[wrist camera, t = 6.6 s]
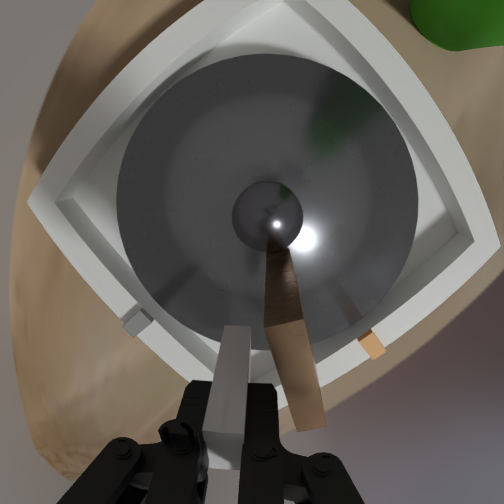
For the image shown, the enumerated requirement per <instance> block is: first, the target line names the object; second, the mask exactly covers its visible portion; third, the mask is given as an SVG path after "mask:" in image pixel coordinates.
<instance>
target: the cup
mask: <svg viewBox="0 0 504 504" xmlns="http://www.w3.org/2000/svg"><path fill="white" fill-rule="evenodd" d="M410 13H411V16H412V19H413V21H414V23H415V25H416V26H417V28H418V29H419V30H420V32H421V33H422V34H423V35H424V36H425V37H426V38H427V39H428V40H429V41H431V42H432V43H433V44H435V45H437V46H438V47H440V48H443V49H445V50H449V51H462V50H468V49H475V48H483V47H492V46H502V45H504V0H411V1H410Z"/></svg>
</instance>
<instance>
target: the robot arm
mask: <svg viewBox="0 0 504 504" xmlns="http://www.w3.org/2000/svg"><path fill="white" fill-rule="evenodd" d="M250 369H251V326H231V325H225V326H224V331H223V335H222V340H221V344H220V349H219V353H218V358H217V363H216V367H215V372H214V376H213V381H202V380H192V381H191V382H190V383H189V384H188V385H187V386H186V388H185V391H184V394H183V398H182V401H181V405H180V407H179V411H178V414H177V417H176V419H173V420H170V421H167V422H165V423H164V424H162V425H161V427H160V428H159V430H158V432H159V434H160V437H161V440H162V441H161V442H159V443H154V444H140V445H138V443H137V442H136V441H134V440H133V439H130V438H127V437H119V438H116V439H113V440H112V441H110V442H109V443H108V444H107V445H106V446H105V448H104V449H103V450H102V451H101V452H100V454H99V455H98V456H97V457H96V458H95V459H94V461H93V462H92V463H91V464H90V465H89V466H88V468H87V469H86V470H85V471H84V472H83V473H82V475H81V476H80V477H79V478H78V479H77V480H76V482H75V483H74V484H73V485H72V486H71V487H70V489H69V490H68V491H67V492H66V493H65V494H64V496H63V497H62V498H61V499H60V500H59V501H58V503H57V504H204V502H205V496H206V490H207V484H208V474H207V471H208V465H209V467H210V468H217V469H229V470H240V481H239V494H238V504H284V499H286V500H290V501H294V502H295V504H365V503H364V502H363V500H362V498H361V496H360V494H359V493H358V491H357V489H356V487H355V485H354V484H353V482H352V480H351V478H350V476H349V475H348V473H347V471H346V469H345V467H344V465H343V464H342V462H341V461H340V459H339V458H338V457H337V456H334V455H333V454H331V453H325V452H322V453H316V454H313V455H311V456H309V457H306V456H301V455H297V454H293V453H291V452H289V451H287V450H286V449H285V448H284V447H283V446H282V444H281V443H280V439H279V419H278V397H277V391H276V389H275V387H274V386H273V384H272V383H250Z"/></svg>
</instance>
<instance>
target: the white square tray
mask: <svg viewBox="0 0 504 504" xmlns="http://www.w3.org/2000/svg"><path fill="white" fill-rule="evenodd" d="M252 54H282V55H290V56H295V57H300V58H305V59H309V60H312V61H315V62H318V63H320V64H323V65H326V66H328V67H331V68H332V69H334V70H336V71H338V72H340V73H342V74H344V75H345V76H347V77H349V78H350V79H352V80H353V81H355V82H356V83H357V84H359V85H360V86H361V87H363V88H364V89H365V90H367V91H368V92H369V93H370V94H371V95H372V96H373V97H374V98H375V99H376V100H377V101H378V102H379V103H380V104H381V105H382V107H383V108H384V109H385V110H386V112H387V113H388V114H389V116H390V117H391V118H392V120H393V121H394V122H395V124H396V126H397V128H398V129H399V131H400V133H401V135H402V137H403V138H404V140H405V143H406V145H407V148H408V150H409V153H410V155H411V158H412V161H413V166H414V170H415V174H416V178H417V187H418V198H419V201H418V220H417V226H416V232H415V237H414V241H413V244H412V247H411V250H410V253H409V256H408V258H407V261H406V263H405V265H404V267H403V269H402V271H401V273H400V275H399V277H398V278H397V280H396V281H395V283H394V284H393V286H392V288H391V289H390V290H389V291H388V293H387V294H386V295H385V296H384V298H383V299H382V300H381V301H380V302H379V303H378V304H377V305H376V306H375V307H374V308H373V309H372V310H371V311H370V312H369V313H368V314H367V315H366V316H364V317H363V318H362V319H360V320H359V321H358V322H356V323H355V324H354V325H352V326H351V327H349V328H347V329H345V330H344V331H342V332H340V333H338V334H337V335H334V336H332V337H330V338H327V339H325V340H323V341H320V342H317V343H314V344H312V348H313V353H314V359H315V364H316V369H317V375H318V380H319V386H320V388H321V387H322V386H324V385H326V384H328V383H329V382H331V381H333V380H335V379H336V378H338V377H340V376H341V375H343V374H345V373H346V372H348V371H350V370H351V369H353V368H354V367H356V366H357V365H359V364H361V363H362V362H364V361H365V360H367V359H368V358H370V357H371V358H372V359H373V360H374V359H376V358H377V357H379V356H380V355H382V354H383V353H385V352H386V349H385V347H386V346H387V345H389V344H390V343H392V342H393V341H394V340H396V339H397V338H399V337H400V336H401V335H403V334H404V333H405V332H407V331H408V330H409V329H411V328H412V327H413V326H414V325H416V324H417V323H418V322H420V321H421V320H422V319H423V318H425V317H426V316H427V315H428V314H430V313H431V312H432V311H433V310H434V309H436V308H437V307H438V306H439V305H440V304H441V303H443V302H444V301H445V300H446V299H447V298H448V297H450V296H451V295H452V294H453V293H454V292H455V291H456V290H457V289H458V288H460V287H461V286H462V285H463V284H464V283H465V282H466V281H467V280H468V279H469V278H470V277H471V276H472V275H473V274H474V273H475V272H476V271H477V270H478V269H479V268H480V267H481V266H482V265H483V264H484V263H485V262H486V261H487V260H488V259H489V258H490V257H491V256H492V255H493V254H494V253H495V252H496V251H497V250H498V249H499V248H500V242H499V239H498V236H497V233H496V229H495V226H494V223H493V220H492V218H491V215H490V212H489V209H488V207H487V204H486V201H485V199H484V196H483V194H482V191H481V189H480V187H479V184H478V182H477V180H476V177H475V175H474V173H473V171H472V169H471V166H470V164H469V162H468V160H467V158H466V156H465V154H464V152H463V150H462V148H461V146H460V145H459V143H458V141H457V139H456V137H455V135H454V133H453V132H452V130H451V128H450V126H449V125H448V123H447V121H446V120H445V118H444V116H443V115H442V113H441V111H440V110H439V108H438V107H437V105H436V104H435V102H434V101H433V99H432V98H431V96H430V95H429V93H428V92H427V90H426V89H425V87H424V86H423V84H422V83H421V82H420V80H419V79H418V78H417V76H416V75H415V74H414V72H413V71H412V70H411V68H410V67H409V66H408V64H407V63H406V62H405V61H404V59H403V58H402V57H401V56H400V54H399V53H398V52H397V51H396V50H395V48H394V47H393V46H392V45H391V44H390V43H389V42H388V40H387V39H386V38H385V37H384V36H383V35H382V34H381V33H380V32H379V31H378V29H377V28H376V27H375V26H374V25H373V24H372V23H371V22H370V21H369V20H368V19H367V18H366V17H365V16H364V15H363V14H362V13H361V12H360V11H359V10H358V9H357V8H356V7H355V6H353V5H352V4H351V3H350V2H349V1H348V0H204V1H202V2H201V3H200V4H198V5H197V6H195V7H194V8H193V9H191V10H190V11H189V12H187V13H186V14H185V15H183V16H182V17H181V18H179V19H178V20H177V21H176V22H174V23H173V24H172V25H171V26H169V27H168V28H167V29H166V30H165V31H163V32H162V33H161V34H160V35H159V36H158V37H156V38H155V39H154V40H153V41H152V42H151V43H150V44H148V45H147V46H146V47H145V48H144V49H143V50H142V51H141V52H140V53H139V54H138V55H137V56H136V57H135V58H134V59H133V60H132V61H131V62H130V63H129V64H128V65H127V66H126V67H125V68H124V69H123V70H122V71H121V72H120V73H119V74H118V75H117V76H116V77H115V78H114V79H113V80H112V81H111V82H110V84H109V85H108V86H107V87H106V88H105V89H104V90H103V91H102V93H101V94H100V95H99V96H98V97H97V98H96V100H95V101H94V102H93V103H92V104H91V106H90V107H89V108H88V109H87V111H86V112H85V113H84V114H83V116H82V117H81V118H80V120H79V121H78V122H77V123H76V125H75V126H74V128H73V129H72V130H71V132H70V133H69V134H68V136H67V137H66V139H65V140H64V141H63V143H62V144H61V146H60V147H59V149H58V150H57V152H56V153H55V155H54V156H53V158H52V160H51V161H50V163H49V164H48V166H47V168H46V169H45V171H44V172H43V174H42V176H41V178H40V179H39V181H38V183H37V184H36V186H35V188H34V190H33V192H32V193H31V195H30V197H29V199H28V201H27V203H28V205H29V206H30V208H31V209H32V211H33V212H34V214H35V215H36V217H37V218H38V220H39V221H40V223H41V224H42V225H43V227H44V228H45V230H46V231H47V232H48V234H49V235H50V237H51V238H52V239H53V241H54V242H55V243H56V245H57V246H58V247H59V249H60V250H61V251H62V252H63V254H64V255H65V256H66V258H67V259H68V260H69V261H70V263H71V264H72V265H73V266H74V268H75V269H76V270H77V271H78V272H79V274H80V275H81V276H82V277H83V278H84V279H85V281H86V282H87V283H88V284H89V285H90V286H91V288H92V289H93V290H94V291H95V292H96V293H97V294H98V295H99V297H100V298H101V299H102V300H103V301H104V302H105V303H106V304H107V305H108V306H109V307H110V309H111V310H112V311H113V312H114V313H115V314H116V315H117V316H118V317H119V318H120V319H121V320H122V321H123V322H124V323H125V324H124V325H123V326H122V327H123V328H124V329H125V330H126V331H127V332H128V333H129V334H130V335H131V336H132V337H133V338H134V337H135V336H138V337H139V338H140V339H141V340H142V341H143V342H144V343H145V344H146V345H147V346H149V347H150V348H151V349H152V350H153V351H154V352H155V353H156V354H157V355H158V356H159V357H161V358H162V359H163V360H164V361H165V362H166V363H167V364H168V365H170V366H171V367H172V368H173V369H174V370H175V371H177V372H178V373H179V374H180V375H181V376H182V377H184V378H185V379H186V380H187V381H188V382H191V381H192V380H202V381H213V376H214V372H215V367H216V363H217V358H218V353H219V349H220V344H221V343H220V342H216V341H213V340H211V339H209V338H207V337H204V336H202V335H200V334H198V333H196V332H194V331H193V330H191V329H189V328H187V327H186V326H184V325H182V324H181V323H180V322H178V321H177V320H176V319H174V318H173V317H172V316H171V315H169V314H168V313H167V312H166V311H165V310H164V309H163V308H162V307H161V306H160V305H159V304H158V303H157V302H156V301H155V300H154V299H153V298H152V297H151V295H150V294H149V293H148V292H147V290H146V289H145V288H144V287H143V285H142V284H141V282H140V280H139V279H138V277H137V275H136V274H135V272H134V271H133V268H132V266H131V264H130V262H129V260H128V258H127V255H126V253H125V250H124V246H123V243H122V240H121V237H120V232H119V226H118V220H117V207H116V194H117V183H118V176H119V171H120V167H121V163H122V159H123V156H124V153H125V151H126V148H127V145H128V143H129V140H130V138H131V137H132V135H133V133H134V131H135V129H136V127H137V126H138V124H139V122H140V121H141V119H142V118H143V117H144V115H145V114H146V113H147V111H148V110H149V109H150V107H151V106H152V105H153V104H154V103H155V102H156V101H157V100H158V99H159V98H160V97H161V96H162V95H163V94H164V93H165V92H166V91H167V90H168V89H170V88H171V87H172V86H174V85H175V84H176V83H177V82H179V81H180V80H182V79H183V78H185V77H186V76H188V75H190V74H192V73H193V72H195V71H197V70H199V69H201V68H203V67H205V66H208V65H210V64H213V63H216V62H218V61H221V60H225V59H229V58H233V57H238V56H242V55H252ZM250 383H272V384H273V386H274V387H275V389H276V391H277V397H278V410H279V409H281V408H283V407H285V406H287V405H288V402H287V399H286V396H285V393H284V390H283V387H282V384H281V381H280V378H279V375H278V372H277V369H276V365H275V362H274V359H273V356H272V353H271V350H268V351H265V350H251V369H250Z"/></svg>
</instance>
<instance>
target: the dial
mask: <svg viewBox="0 0 504 504" xmlns="http://www.w3.org/2000/svg"><path fill="white" fill-rule="evenodd" d="M418 201H419V198H418V187H417V178H416V174H415V170H414V166H413V161H412V158H411V155H410V153H409V150H408V148H407V145H406V143H405V140H404V138H403V137H402V135H401V133H400V131H399V129H398V128H397V126H396V124H395V122H394V121H393V120H392V118H391V117H390V116H389V114H388V113H387V112H386V110H385V109H384V108H383V107H382V105H381V104H380V103H379V102H378V101H377V100H376V99H375V98H374V97H373V96H372V95H371V94H370V93H369V92H368V91H367V90H365V89H364V88H363V87H361V86H360V85H359V84H357V83H356V82H355V81H353V80H352V79H350V78H349V77H347V76H345V75H344V74H342V73H340V72H338V71H336V70H334V69H332V68H331V67H328V66H326V65H323V64H320V63H318V62H315V61H312V60H309V59H305V58H300V57H295V56H290V55H282V54H252V55H242V56H238V57H233V58H229V59H225V60H221V61H218V62H216V63H213V64H210V65H208V66H205V67H203V68H201V69H199V70H197V71H195V72H193V73H192V74H190V75H188V76H186V77H185V78H183V79H182V80H180V81H179V82H177V83H176V84H175V85H174V86H172V87H171V88H170V89H168V90H167V91H166V92H165V93H164V94H163V95H162V96H161V97H160V98H159V99H158V100H157V101H156V102H155V103H154V104H153V105H152V106H151V107H150V109H149V110H148V111H147V113H146V114H145V115H144V117H143V118H142V119H141V121H140V122H139V124H138V126H137V127H136V129H135V131H134V133H133V135H132V137H131V138H130V140H129V143H128V145H127V148H126V151H125V153H124V156H123V159H122V163H121V167H120V171H119V176H118V183H117V194H116V207H117V220H118V226H119V232H120V237H121V240H122V243H123V246H124V250H125V253H126V255H127V258H128V260H129V262H130V264H131V266H132V268H133V271H134V272H135V274H136V275H137V277H138V279H139V280H140V282H141V284H142V285H143V287H144V288H145V289H146V290H147V292H148V293H149V294H150V295H151V297H152V298H153V299H154V300H155V301H156V302H157V303H158V304H159V305H160V306H161V307H162V308H163V309H164V310H165V311H166V312H167V313H168V314H169V315H171V316H172V317H173V318H174V319H176V320H177V321H178V322H180V323H181V324H182V325H184V326H186V327H187V328H189V329H191V330H193V331H194V332H196V333H198V334H200V335H202V336H204V337H207V338H209V339H211V340H213V341H216V342H220V343H221V340H222V335H223V331H224V326H225V325H231V326H251V350H265V351H268V350H271V353H272V356H273V359H274V362H275V365H276V369H277V372H278V375H279V378H280V381H281V384H282V387H283V390H284V393H285V396H286V399H287V402H288V405H289V409H290V412H291V415H292V418H293V421H294V424H295V427H296V430H297V432H301V431H306V430H311V429H317V428H321V427H326V421H325V414H324V408H323V403H322V397H321V391H320V386H319V380H318V375H317V369H316V364H315V359H314V353H313V348H312V344H314V343H317V342H320V341H323V340H325V339H327V338H330V337H332V336H334V335H337V334H338V333H340V332H342V331H344V330H345V329H347V328H349V327H351V326H352V325H354V324H355V323H356V322H358V321H359V320H360V319H362V318H363V317H364V316H366V315H367V314H368V313H369V312H370V311H371V310H372V309H373V308H374V307H375V306H376V305H377V304H378V303H379V302H380V301H381V300H382V299H383V298H384V296H385V295H386V294H387V293H388V291H389V290H390V289H391V288H392V286H393V284H394V283H395V281H396V280H397V278H398V277H399V275H400V273H401V271H402V269H403V267H404V265H405V263H406V261H407V258H408V256H409V253H410V250H411V247H412V244H413V241H414V237H415V232H416V226H417V220H418Z"/></svg>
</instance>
